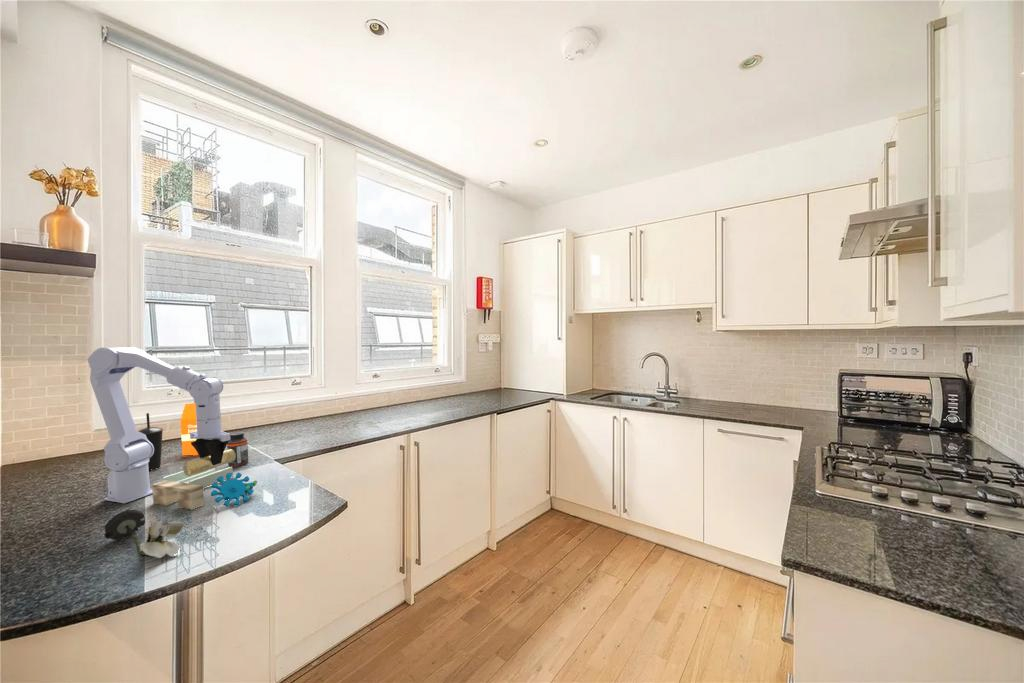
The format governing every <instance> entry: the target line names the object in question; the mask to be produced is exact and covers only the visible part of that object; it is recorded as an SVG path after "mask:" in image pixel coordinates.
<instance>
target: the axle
mask: <svg viewBox="0 0 1024 683" xmlns="http://www.w3.org/2000/svg"><path fill="white" fill-rule="evenodd" d="M235 458H236V455H235V452H234V451H233V450H232V449H229V450H227V449H225V450H224V453H223V457H222V461H221V463H219V464H216V465H212V462H211V457H210V455H209V456H206V457H202V458H195V459H193V460H189V461H187V462H185V463H184V464H183V466H182V468H183V469H182V471H184V473H185V474H186V475H187V476H191V475H194V474H197V473H200V472H203V471H206V470H207V471H209V470H212V469H216V468H217V467H220V466H224V465H226V464H228V463H230V462H233V461H234V460H235Z"/></svg>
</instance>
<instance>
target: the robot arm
mask: <svg viewBox="0 0 1024 683" xmlns="http://www.w3.org/2000/svg"><path fill="white" fill-rule="evenodd" d="M86 360H87V362H88V365H89V368H90V373H89V374H90V376H89V380H90V385H91V386H92V391H93V392H94V396H95V398H96V401H97V404H98V406H99V409H100V413H101V415H102V418H103V420H104V424H105V426H106V429H107V432H108V434H109V437H110V438H109V440H108V442H107V443H106V444H105V445H104V446H103V450H104V459H103V460H104V461H103V462H104V464H105V466H106V467H107V468H108V469H109V470H110V471H109V472H108V474H107V492H108V493H107V494H108V496H107V497H104V500H105V501H109V502H113V503H115V502H116V503H120V504H127V503H130V502H132V501H135V500H138V499H141V498H144V497H147V496H149V495H153V491H152V488H151V485H150V484H151V483H150V473H149V472H150V471H149V468H148V462H149V461H150V460H149V458H150V457H151V456H152V455H153V453H154V446H153V444H152V443H151V442H150V441H149V440H148V439H147V437H146V435H145V434H143V433H141V432H138V431H139V430H137V427H136V424H135V422H134V419H133V418H134V417H133V416H132V415H133V414H132V413H131V410H130V407H129V405H128V402H127V398H126V396H125V393H124V391H123V387H122V384H121V382H120V381H121V379H122V378H123V377H124V376H125V375H126V374H127V373H129V372H130V371H132V370H133V369H135V368H139V369H140V368H141V369H143V370H146V371H148V372H151V373H154V374H157V375H159V376H160V377H161V376H162V377H164V378H165V379H166V382H167V383H168V384H169V385H172V386H173V387H174V386H175V387H177V388H179V389H181V390H184V391H186V392H188V393H189V395H190V397H192V399H193V403H195V406H196V422H197V431H194V432H190V439H196V441H193V442H191V445H192V446H193V447H194V448H195V450H196V451H197V453H198V455H197V456H198V457H199V458H202V457H206V456H209V455H210V457H211V462H212V465H216V464H219V463H221V461H222V457H223V453H224V451H225V450H226V447H227V444H228V442H229V440H230V434H231V433H229V432H226V431H223V430H222V416H221V414H222V413H221V400H220V394H221V393H222V392H223V390H224V383H223V381H222V380H221V379H219V378H218V377H216V376H210V377H207V374H205V373H198V372H197V371H194V370H192V369H191V367H190V366H188V365H184V366H182V365H179V366H173V365H171V364H169V363H166V362H165V361H163V360H162V359H161V360H160V359H159V358H157V357H155V356H153V355H151V354H148V353H147V352H146V351H145V350H143V349H139V348H138V347H136V346H130V345H129V346H124V347H123V346H122V347H99V348H97V349H95V350H94V351H92V353H91V354H90V355H89V357H88V358H87V359H86ZM199 458H198V459H199Z"/></svg>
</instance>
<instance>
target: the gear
mask: <svg viewBox="0 0 1024 683" xmlns="http://www.w3.org/2000/svg"><path fill="white" fill-rule="evenodd" d="M231 476H232V473H227V475H226V478H227V480H226V481H223V478H224V477H223V476H220V477H218V478H217V481H218V482H220V483H217V482H214V483H213V484H212V486H210V487H211V488H212V491H211V493H210V496H211V497H215V496H216V497H215V498H214V501H215V502H216V503H217V504H219V503H221V501H223V500H224V502H223V503H222V505H223V506H225V507H228V506H230V504H231V502H232V501H233V500H235V501H234V502H233V506H234V505H237V506H239V505H240V504H241V500H240V497H242V502H244V503H245V501H246V502H248V501H249V499H250V497H249V496H252V494H253V493H254V491H255V490H254V487H256V486H257V484H258V481H257V480H253V482H249V481H250V477H249V476H248V475H247V476H244V478H241V477H242V476H243V474H242V473H241V472H237V473H236V474H235V477H233V478H231ZM230 478H231V479H230ZM240 478H241V479H240ZM219 484H220V485H219ZM216 489H217V490H216ZM245 494H247V495H245ZM228 499H229V500H228ZM225 500H227V501H225Z"/></svg>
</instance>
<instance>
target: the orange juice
mask: <svg viewBox="0 0 1024 683" xmlns="http://www.w3.org/2000/svg"><path fill="white" fill-rule="evenodd" d="M180 431H181V432H180V434H181V435H180V436H181V437H180V438H181V446H182V449H181V450H182V456H183V455H193V456H199V455H198V453H197V451H196V450H195V448H194V447H193V446H192V445H191V442H193V441H196V439H190V432H194V431H197V422H196V406H195V403H194V402H193V403H185V404H184V407H183V410H182V414H181V417H180Z"/></svg>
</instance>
